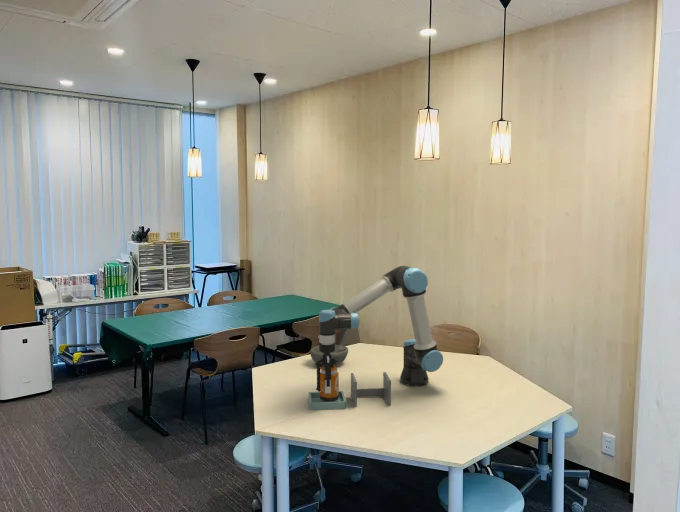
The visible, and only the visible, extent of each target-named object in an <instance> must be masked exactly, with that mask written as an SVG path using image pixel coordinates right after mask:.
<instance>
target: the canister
mask: <svg viewBox="0 0 680 512" xmlns="http://www.w3.org/2000/svg"><path fill="white" fill-rule="evenodd" d="M321 362H322V364H320V363H321ZM336 363H337V360H335V359H331V393H325V380H324V378H325V365H324V360H323V359H321V360H319V361H318V362H315V363H314V364H315V367H316V389H315V390H316V392H320V399H321V400H323V401H326V402H333V401H336V400H338V399H339V391H340V390H339V387H340V386H339V385H340V383H339V382H340V381H339V380H340V379H339V378H340V377H339V376H340V375H339V372H338V367H337V365H336V366H335V365H334V364H336Z"/></svg>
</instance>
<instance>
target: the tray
mask: <svg viewBox="0 0 680 512" xmlns="http://www.w3.org/2000/svg"><path fill="white" fill-rule="evenodd" d="M308 405H309V410H310V411H317V410H318V411H319V410H322V411H323V410H340V409H341V410H342V409H344V410H345V409H347V408H348V407H347V399H346V396H345V392H344V390H339V399H338V400H336V401H333V402H326V401H323V400H321V399H320V392H319V391H308Z"/></svg>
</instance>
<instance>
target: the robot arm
mask: <svg viewBox="0 0 680 512" xmlns="http://www.w3.org/2000/svg"><path fill="white" fill-rule="evenodd" d="M428 284H429V279H428V276H427V274H426V273H425V272H424V271H423V270H421V269H420V268H417V267H413V266H412V267H411V266H408V265H399V266H397V267H395V268H393V269H391V270H389V271H388V272H386V273H385V274H383V275H382V276H381V278H380V279H379V280H377V281H376V282H374V283H372V284H371V285H369V286H368V287H367V288H365V289H363V290H362V291H361V292H359V293H357V294H356V295H355V296H353V297H352V298H350V299H348V300H346V301H345V302H343V303H342V304H340V305H339V306H333V307H331V308H329V309H322V310H320V311H319V315H318V329H319V330H318V332H319V333H318V336H317V339H319V340H318V341H319V344H318V346H319V351H320V352H323V353H324V354H323V360H324V365H325V378H324V380H325V393H331V359H332V356H331V354H330V353H331V352H334V351H335V345H336V331H340V330H352V329H358V328H359V326H360V315H359V314H358V312H360V311H361V310H363V309H364V308H366V307H367V306H369V305H371V304H372V303H374V302H375V301H376V300H378V299H380V298H381V297H383V296H384V295H386V294H387V293H390V292H391V293H392V292H394V291H396V290H399V289H401V291H402V296H403V298H404V299H406V302H407V305H408V310H409V311H408V312H409V316H410V320H411V321H410V322H411V325H412V329H413V330H412V331H413V336H414V338H409V339H405V340H404V342H403V368H402V370H401V374H400V376H399V382H400V383H401V384H402V385H406V386H409V387H410V386H411V387H421V386H422V387H423V386H425V385H428V384H429V375H428V373H434V372H436V371H438V370H440V368H441V366H443V363H444V356H443V354H442V353H441V351H440V350H439V349H438V346H437V342H436V341H435V339H433V336H432V329H431V326H430V321H429V320H430V319H429V315H428V311H427V306H426V300H425V294H426V293H427V286H428ZM427 372H428V373H427Z"/></svg>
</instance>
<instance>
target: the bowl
mask: <svg viewBox="0 0 680 512" xmlns="http://www.w3.org/2000/svg"><path fill="white" fill-rule="evenodd" d="M309 353H310V357H311V359H312V360H313V362H315V363H316V362H318V361H319V360H321V359H323V354H324V353H323V352H320V351H319V345H315V346H313V347H312V348H311V349H310V351H309ZM348 353H349V348H348V347H347V346H345V345H342V344H335V351H334V352H331V353H330V354H331V356H332V359H335V360H337V363H336V364H334V365H335V366H336V367H337V366H338V365H341V364H342V363H343V362H344V361H345V360H346V358H347V356H348ZM320 364H322V362H321V363H320Z"/></svg>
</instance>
